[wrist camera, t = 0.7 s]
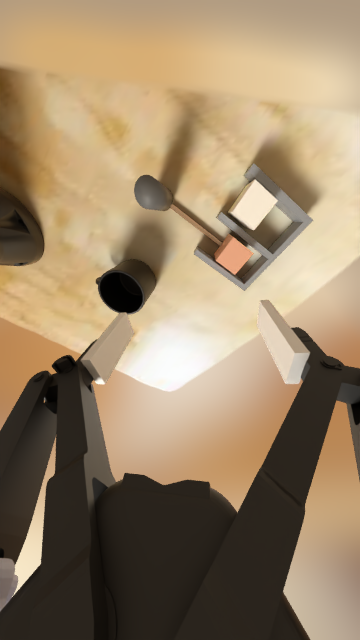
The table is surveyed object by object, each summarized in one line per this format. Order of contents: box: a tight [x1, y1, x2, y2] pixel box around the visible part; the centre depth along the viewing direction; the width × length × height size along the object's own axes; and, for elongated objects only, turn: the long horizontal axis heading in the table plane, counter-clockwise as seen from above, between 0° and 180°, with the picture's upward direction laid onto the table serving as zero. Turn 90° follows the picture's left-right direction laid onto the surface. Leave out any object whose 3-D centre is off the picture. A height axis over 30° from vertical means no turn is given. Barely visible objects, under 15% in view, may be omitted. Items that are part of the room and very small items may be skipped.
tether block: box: [134, 175, 254, 275], centre depth 27 cm, size 20×4×10 cm, turn 58°
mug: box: [96, 259, 156, 315], centre depth 35 cm, size 9×12×9 cm
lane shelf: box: [194, 163, 313, 291], centre depth 30 cm, size 13×15×4 cm
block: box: [228, 180, 278, 230], centre depth 27 cm, size 4×4×6 cm
